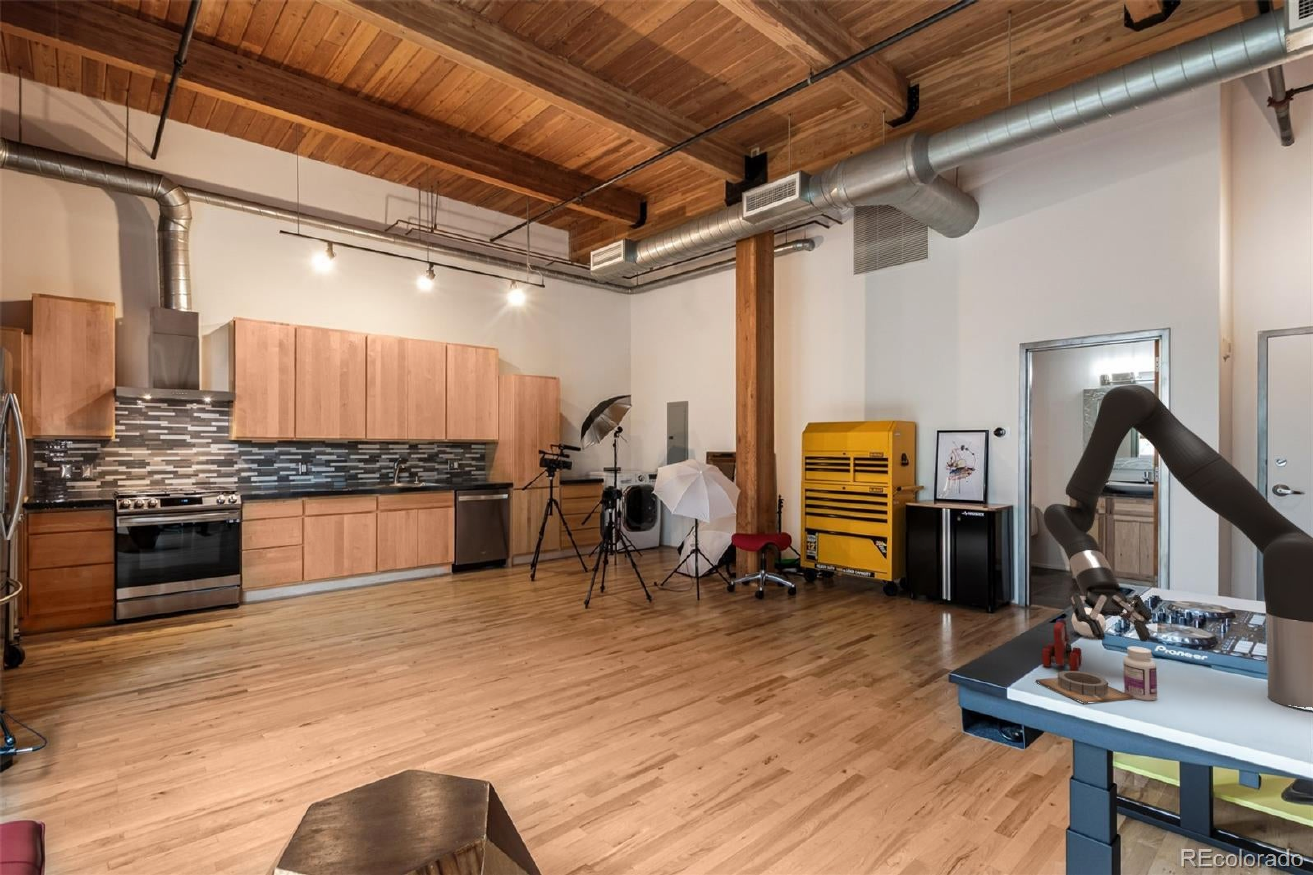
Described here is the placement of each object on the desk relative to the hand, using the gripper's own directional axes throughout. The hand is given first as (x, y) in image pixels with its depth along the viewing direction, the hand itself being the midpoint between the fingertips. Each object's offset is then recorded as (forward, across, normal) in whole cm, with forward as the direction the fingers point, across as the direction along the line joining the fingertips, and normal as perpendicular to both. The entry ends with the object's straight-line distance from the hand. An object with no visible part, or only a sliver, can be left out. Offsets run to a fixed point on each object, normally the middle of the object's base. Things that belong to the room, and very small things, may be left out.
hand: (1123, 639), depth 134 cm
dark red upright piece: (-1, -7, +16) cm, 17 cm away
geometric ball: (-19, +11, +33) cm, 40 cm away
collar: (+10, -10, +4) cm, 15 cm away
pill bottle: (+11, 0, +3) cm, 12 cm away
